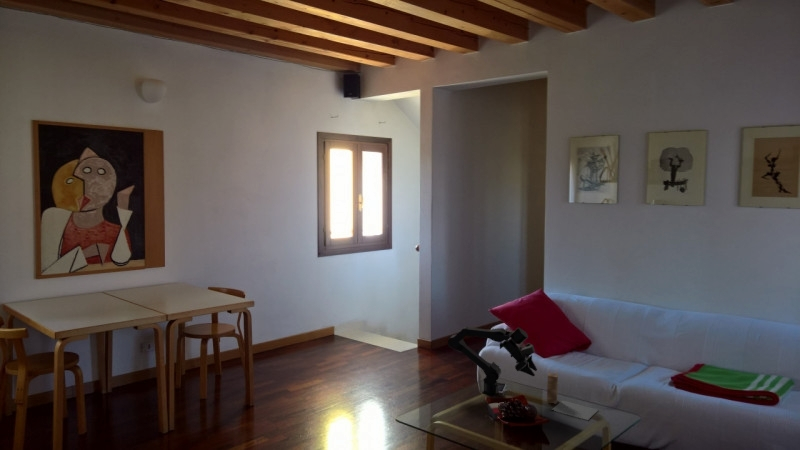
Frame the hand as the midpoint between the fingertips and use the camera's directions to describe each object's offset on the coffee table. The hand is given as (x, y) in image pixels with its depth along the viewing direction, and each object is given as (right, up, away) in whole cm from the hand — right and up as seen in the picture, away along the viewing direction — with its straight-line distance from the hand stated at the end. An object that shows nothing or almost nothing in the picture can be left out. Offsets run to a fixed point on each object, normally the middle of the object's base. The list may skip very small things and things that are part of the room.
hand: (535, 373), depth 299 cm
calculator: (-18, -16, -15) cm, 28 cm away
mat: (+16, -15, -12) cm, 25 cm away
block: (+8, -14, -1) cm, 16 cm away
